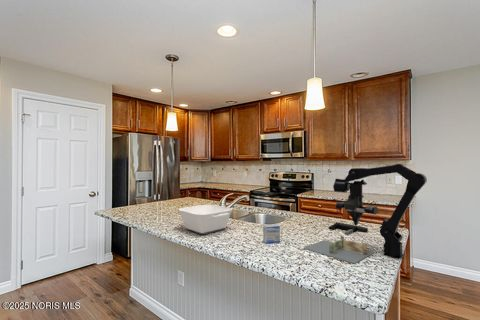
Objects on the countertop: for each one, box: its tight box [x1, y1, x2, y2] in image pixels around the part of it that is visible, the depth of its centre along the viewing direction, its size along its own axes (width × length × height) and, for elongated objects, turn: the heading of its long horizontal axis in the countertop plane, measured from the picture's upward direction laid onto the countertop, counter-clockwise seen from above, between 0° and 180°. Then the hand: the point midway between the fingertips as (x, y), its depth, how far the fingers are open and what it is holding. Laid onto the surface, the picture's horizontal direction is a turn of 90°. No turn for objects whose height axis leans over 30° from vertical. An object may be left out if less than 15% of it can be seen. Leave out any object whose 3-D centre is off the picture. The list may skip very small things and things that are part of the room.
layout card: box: [303, 239, 374, 265], centre depth 121 cm, size 25×19×1 cm
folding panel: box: [329, 238, 342, 253], centre depth 120 cm, size 10×2×4 cm, turn 132°
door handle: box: [328, 221, 369, 236], centre depth 156 cm, size 3×20×16 cm
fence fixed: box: [340, 235, 368, 255], centre depth 120 cm, size 12×2×6 cm, turn 41°
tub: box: [178, 204, 233, 235], centre depth 158 cm, size 34×27×13 cm
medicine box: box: [262, 224, 281, 245], centre depth 134 cm, size 8×4×9 cm, turn 105°
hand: (355, 225), depth 126 cm, fingers closed
